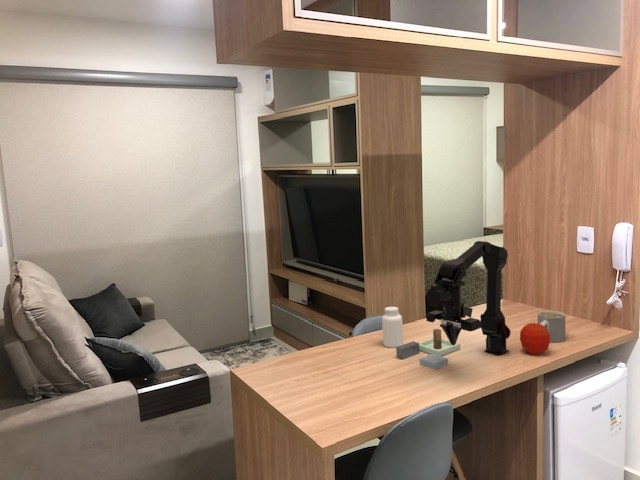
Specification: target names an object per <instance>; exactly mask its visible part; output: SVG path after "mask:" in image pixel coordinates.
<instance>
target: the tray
mask: <svg viewBox="0 0 640 480" xmlns="http://www.w3.org/2000/svg"><path fill="white" fill-rule="evenodd" d="M441 341H442V348H441V349H434V342H433V337H431V338H427V339H426V340H423V341H420V342H418V343H419V352H422V353H424V354H427V355H430V354H435V355H438V356H441V357H445V356H447V355H450V354H452V353H455V352H458V351H459V350H461V343H460V342H456V344H455V345H451V343H450V341H449V339H444V338H442V337H441Z"/></svg>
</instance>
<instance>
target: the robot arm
mask: <svg viewBox="0 0 640 480" xmlns="http://www.w3.org/2000/svg"><path fill="white" fill-rule="evenodd" d="M508 256H509V253H508V250H507V249H506V248H505V247H504V246H499V245H495V244H492V243H490V242H489V241H486V240H485V241H484V240H482V241H481V240H477V241H475V242H474V243H473V245H471V246H470V247H469V248H467V250H465V251H464V252H462V254H460V255H459V256H458V257H457V258H454V259H449V260H447V261H445V262H443V263H442V264H441V265H440V266H439V269H438V272H437V274H436V276H435V279H434V282H433V284H432V285H430V287H429V288H430V289H428V290H427V292H426V294H425V299H426V302H427V304H429V306H431V307H438V306H441V308H443V311H442V310H441V311H440V310H433V311H430V312H428V313H427V314H426V316H425V317H426V322H429V323H432V324H433V323H434V322H436V320H438V321H440V324H439V327H440V328H441V330H442V331H443V332H444V333H445V335H446V337H447V338H448V339H447V340H449V341H450V343H451V345H455V344H456V343H457V342H458V338H459V335H460V333H461V331H462V330H463V331H466V332H474V331H477V330H479V329H481V332H482V335H483V336H486V338H485V349H483V350H484V351H483V352H484V353H488V354H492V355H496V356H501V355H503V354H506V353H509V352H510V350H509V349H507V339H509V338H510V337H511V331H512V330H511V329H510V328H509V327H508V325H507V324H506V317H505V315H504V313H503V312H502V309H501V306H502V304H501V303H502V301H501V300H502V271H503V269H504V268H505V266H506V265H507V262H508ZM480 258H482V264H483V265H484V267H485V269H486V272H487V273H486V305H485V306H486V307H485V308H486V309H485V310H484V312H483V313H481V314H480V317H479V318H480V319H479V318H475V317H474V318H473V317H472V314H473V308H472V307H467V306H465V303H464V302H463V301H462V287H463V286H465V284H466V283H465V282H464V281H463V278H464V277H465V276H466V275H467V270H468V269H469V268H470V267H471V266H472V265H474V264H475V263H476V262H477V261H478V260H479V259H480ZM466 317H468V318H466ZM465 318H466V319H465Z"/></svg>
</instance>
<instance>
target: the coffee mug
mask: <svg viewBox="0 0 640 480" xmlns="http://www.w3.org/2000/svg"><path fill="white" fill-rule="evenodd" d="M537 324H541V325H543V326H544V327H546V328H547V330H548V331H549V333H550V343H549V344H557V343H559V344H560V343H564V342H565V341H566V313H564V312H562V311H559V310H558V311H557V310H541V311H538V312H537Z"/></svg>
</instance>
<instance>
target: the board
mask: <svg viewBox="0 0 640 480" xmlns="http://www.w3.org/2000/svg"><path fill="white" fill-rule="evenodd" d="M418 361H419V365H421V366H423V367H427V368H430V369H433V370H437V369H440V368H442V367H445V366H446V365H448V364H449V359H448V358H447V357H445V356H442V357H441V356H438V355H435V354H427V355H426V356H423V357H420V358H419V360H418Z"/></svg>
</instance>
